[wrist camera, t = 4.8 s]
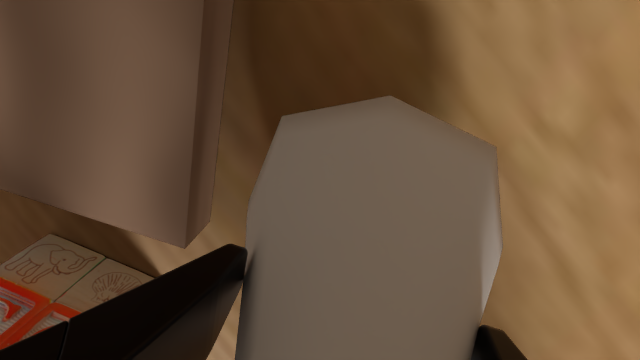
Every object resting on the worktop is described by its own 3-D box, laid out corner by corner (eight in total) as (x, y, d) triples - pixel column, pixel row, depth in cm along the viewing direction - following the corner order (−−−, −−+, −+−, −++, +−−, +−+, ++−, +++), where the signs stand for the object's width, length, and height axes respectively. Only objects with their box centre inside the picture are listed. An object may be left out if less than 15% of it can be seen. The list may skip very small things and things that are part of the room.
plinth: (239, -53, 11) (209, -64, 10) (209, 221, 16) (184, 248, 14) (-52, -125, 12) (-129, -146, 11) (-4, 154, 17) (-52, 172, 15)
